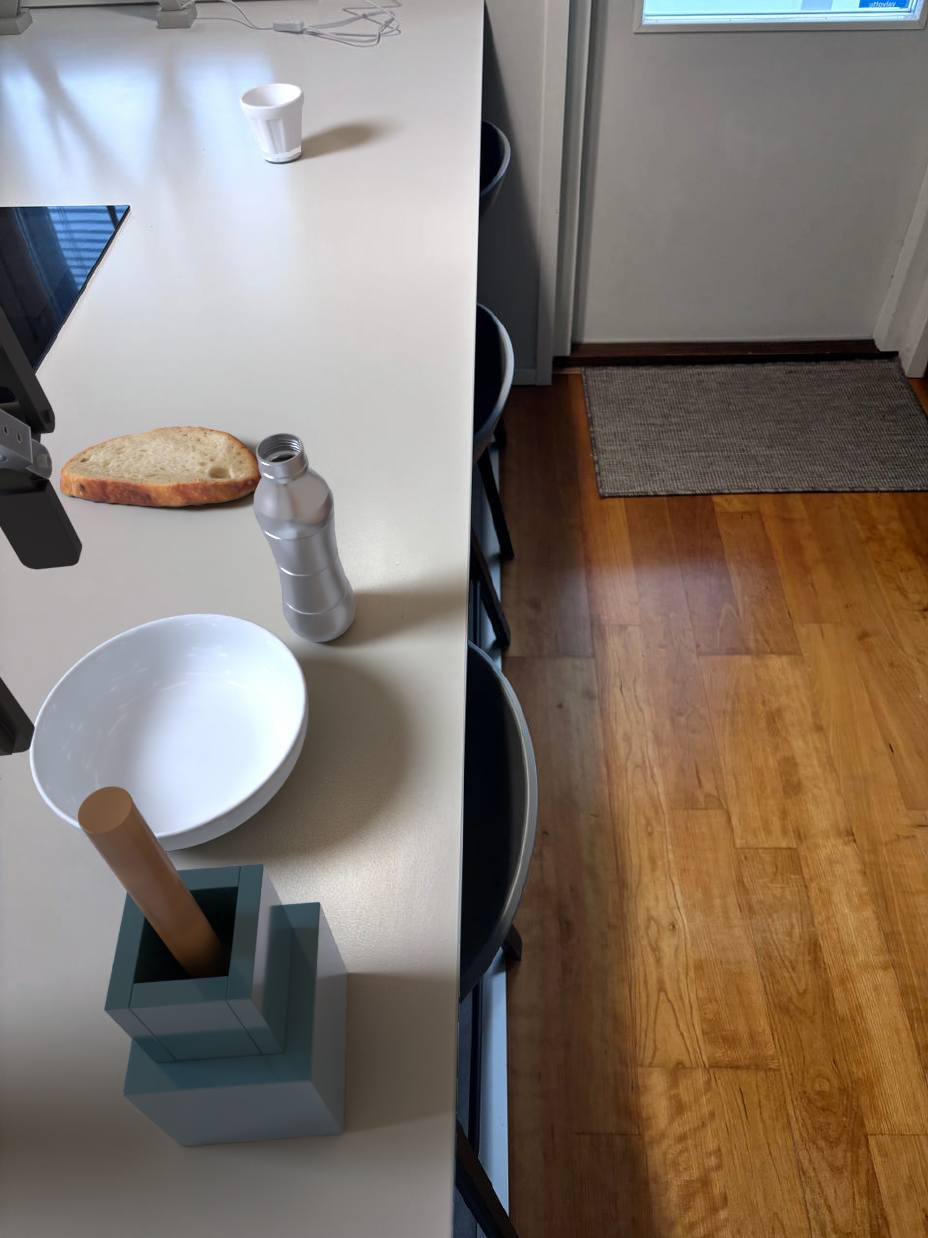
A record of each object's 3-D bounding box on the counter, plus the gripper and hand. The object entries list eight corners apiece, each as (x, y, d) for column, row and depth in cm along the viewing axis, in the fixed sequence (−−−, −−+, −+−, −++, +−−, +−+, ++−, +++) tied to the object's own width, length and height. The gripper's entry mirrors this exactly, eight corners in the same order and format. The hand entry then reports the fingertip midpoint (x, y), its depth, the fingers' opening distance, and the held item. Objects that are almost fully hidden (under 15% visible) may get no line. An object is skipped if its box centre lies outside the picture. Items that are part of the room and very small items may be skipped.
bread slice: (50, 480, 102) (36, 452, 99) (197, 409, 109) (188, 381, 106) (125, 567, 92) (112, 539, 89) (281, 483, 99) (273, 454, 97)
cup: (323, 158, 153) (313, 96, 146) (266, 175, 150) (252, 112, 143) (299, 137, 159) (288, 77, 152) (243, 153, 156) (229, 93, 149)
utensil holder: (180, 1147, 58) (64, 1046, 44) (201, 983, 65) (107, 849, 50) (343, 1134, 58) (280, 1029, 44) (347, 972, 65) (294, 835, 50)
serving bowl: (343, 667, 82) (330, 614, 77) (290, 893, 69) (270, 847, 64) (115, 657, 85) (87, 605, 80) (19, 874, 71) (-21, 829, 66)
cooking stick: (204, 1014, 52) (71, 836, 37) (209, 974, 54) (83, 788, 39) (244, 1011, 52) (126, 831, 37) (248, 971, 54) (136, 783, 39)
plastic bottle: (347, 588, 89) (309, 411, 74) (369, 638, 84) (332, 462, 69) (280, 609, 87) (227, 433, 72) (299, 661, 83) (246, 486, 68)
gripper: (-282, 92, 26) (-22, 522, 39) (-632, 392, 17) (-141, 837, 29) (-13, 65, 26) (162, 503, 39) (-212, 349, 17) (103, 811, 29)
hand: (32, 646), depth 34 cm, fingers open, 8 cm apart
